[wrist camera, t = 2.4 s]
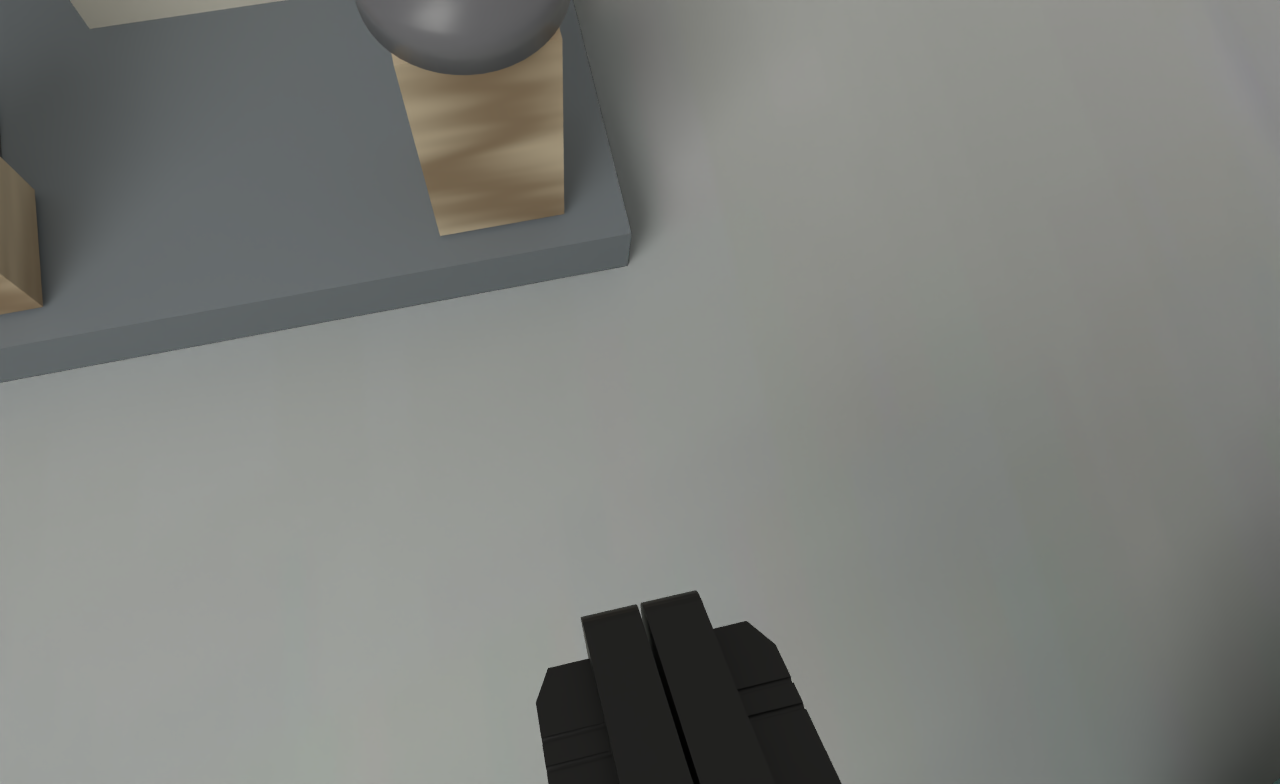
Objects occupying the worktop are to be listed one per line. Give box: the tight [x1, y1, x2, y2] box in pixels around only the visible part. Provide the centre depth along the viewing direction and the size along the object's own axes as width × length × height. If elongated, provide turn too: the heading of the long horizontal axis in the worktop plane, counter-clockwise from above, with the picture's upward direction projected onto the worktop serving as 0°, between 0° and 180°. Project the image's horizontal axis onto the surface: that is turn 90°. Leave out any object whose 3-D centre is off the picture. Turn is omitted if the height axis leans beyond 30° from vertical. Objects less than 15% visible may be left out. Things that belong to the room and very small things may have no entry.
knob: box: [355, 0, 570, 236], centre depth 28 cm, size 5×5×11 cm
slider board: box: [0, 0, 632, 382], centre depth 31 cm, size 24×13×10 cm, turn 103°
